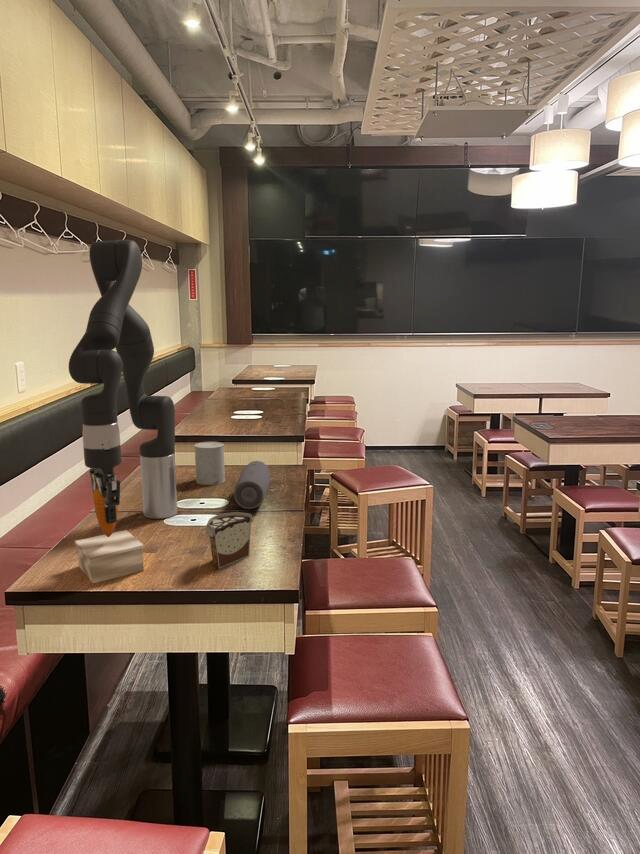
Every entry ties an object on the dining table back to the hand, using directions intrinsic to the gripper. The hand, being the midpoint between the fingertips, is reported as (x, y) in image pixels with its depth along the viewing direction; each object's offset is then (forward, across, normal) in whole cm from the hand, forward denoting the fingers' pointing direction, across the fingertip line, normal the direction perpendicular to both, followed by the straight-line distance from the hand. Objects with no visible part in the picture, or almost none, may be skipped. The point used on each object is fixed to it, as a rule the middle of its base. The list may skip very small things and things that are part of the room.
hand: (107, 519), depth 139 cm
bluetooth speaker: (+12, -24, +50) cm, 57 cm away
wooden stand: (+12, 0, 0) cm, 12 cm away
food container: (+12, +10, +23) cm, 28 cm away
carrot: (+4, 0, 0) cm, 4 cm away
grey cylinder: (+12, -51, +49) cm, 72 cm away
